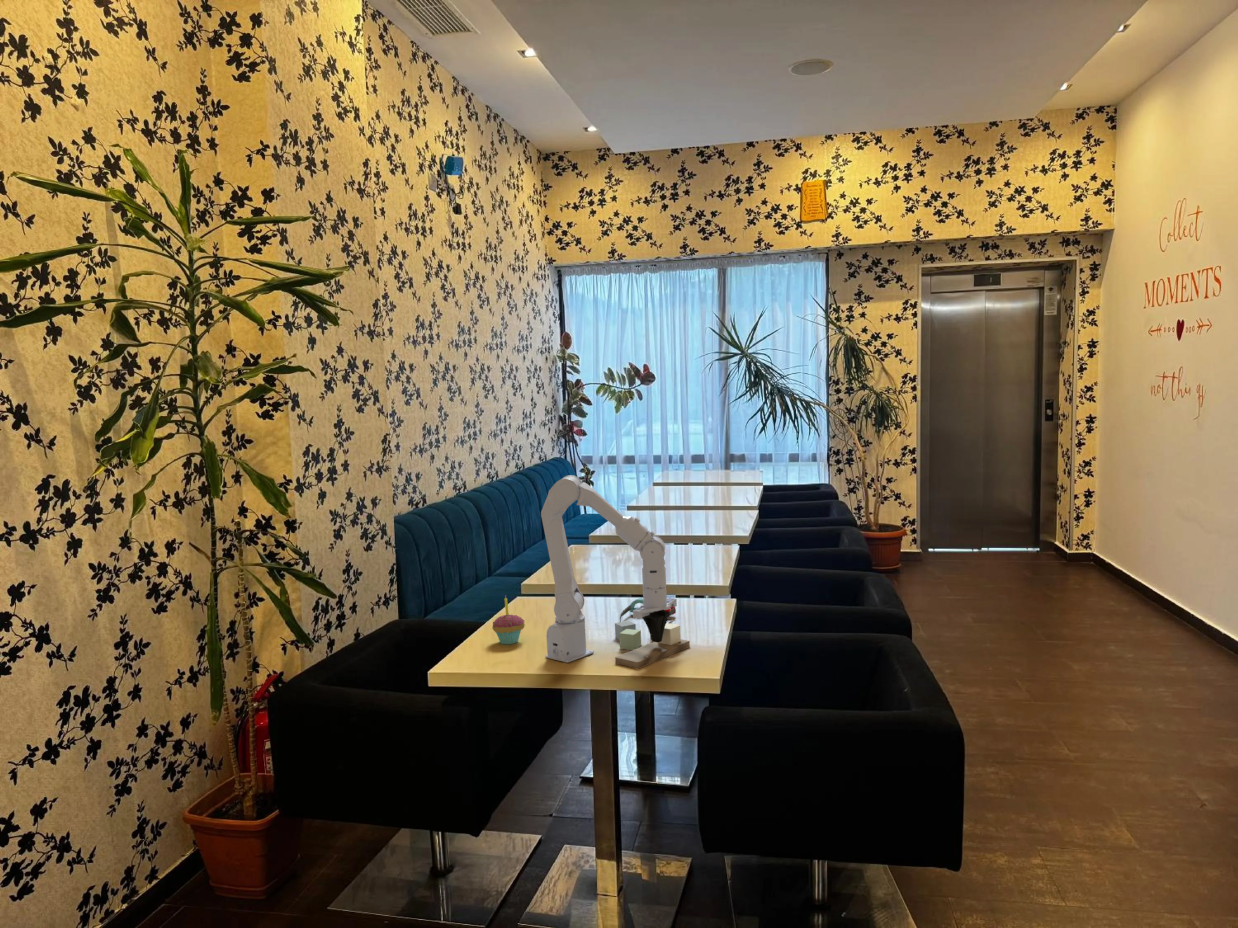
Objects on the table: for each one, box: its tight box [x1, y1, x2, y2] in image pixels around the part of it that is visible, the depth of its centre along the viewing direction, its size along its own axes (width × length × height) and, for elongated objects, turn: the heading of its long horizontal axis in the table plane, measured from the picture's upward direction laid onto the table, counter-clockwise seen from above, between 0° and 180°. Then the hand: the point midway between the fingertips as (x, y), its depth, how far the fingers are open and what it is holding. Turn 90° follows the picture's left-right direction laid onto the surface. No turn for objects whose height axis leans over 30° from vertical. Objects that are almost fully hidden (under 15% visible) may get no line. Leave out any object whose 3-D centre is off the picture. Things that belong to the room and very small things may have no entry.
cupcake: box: [491, 595, 526, 645], centre depth 222 cm, size 9×8×12 cm
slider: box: [659, 622, 682, 645], centre depth 210 cm, size 4×4×4 cm
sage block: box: [619, 629, 642, 651], centre depth 213 cm, size 4×4×4 cm
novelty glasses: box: [619, 597, 677, 622], centre depth 237 cm, size 14×15×5 cm
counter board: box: [614, 638, 691, 669], centre depth 206 cm, size 20×7×2 cm, turn 139°
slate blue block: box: [614, 620, 637, 641], centre depth 221 cm, size 4×4×4 cm
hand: (656, 641), depth 207 cm, fingers closed
